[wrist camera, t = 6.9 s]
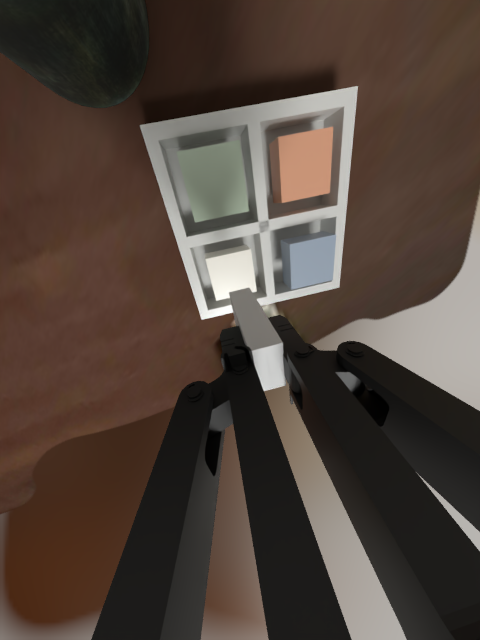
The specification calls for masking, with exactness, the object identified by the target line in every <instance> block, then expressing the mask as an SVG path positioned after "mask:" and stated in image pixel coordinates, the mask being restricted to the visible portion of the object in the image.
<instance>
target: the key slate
mask: <svg viewBox="0 0 480 640" xmlns="http://www.w3.org/2000/svg"><path fill="white" fill-rule="evenodd" d="M335 245H336V234H333V233H328V232H324V231H321V232H316V233H312V234H307V235H303V236H298V237H293V238H289V239H284V240H281V254H282V270H283V282H284V283H285V284H286V285H287V286H288V287H289V288H290V289H291V290H292V289H297V288H301V287H305V286H309V285H314V284H318V283H322V282H327V281H331V280H333V272H334V258H335Z"/></svg>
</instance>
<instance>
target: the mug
mask: <svg viewBox="0 0 480 640" xmlns="http://www.w3.org/2000/svg"><path fill="white" fill-rule="evenodd" d="M148 50H149V25H148V16H147V9H146V4H145V0H0V52H1V53H2V54H4V55H5V56H6V57H8V58H9V59H10V60H12V61H13V62H14V63H16V64H17V65H18V66H20V67H21V68H22V69H24V70H25V71H26V72H28V73H29V74H30V75H32V76H33V77H34V78H36V79H37V80H38V81H40V82H41V83H42V84H44V85H45V86H46V87H48V88H49V89H51V90H52V91H54V92H55V93H57V94H58V95H60V96H62V97H64V98H65V99H67V100H69V101H71V102H74V103H77V104H80V105H83V106H87V107H93V108H107V107H110V106H114V105H117V104H119V103H121V102H123V101H125V100H126V99H127V98H128V97H129V96H130V95H131V94H132V93H133V92H134V91H135V89H136V88H137V86H138V85H139V83H140V81H141V79H142V76H143V74H144V71H145V67H146V63H147V59H148Z"/></svg>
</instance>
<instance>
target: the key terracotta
mask: <svg viewBox="0 0 480 640" xmlns="http://www.w3.org/2000/svg"><path fill="white" fill-rule="evenodd" d="M332 143H333V127H328V128H323V129H317V130H312V131H307V132H302V133H296V134H291V135H286V136H280V137H278V138H276V139H275V140H274V141H273V142H272V143H270V144H269V149H270V162H271V176H272V190H273V203H285V202H290V201H294V200H299V199H304V198H309V197H314V196H318V195H323V194H328V193H330V181H331V162H332Z"/></svg>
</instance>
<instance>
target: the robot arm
mask: <svg viewBox="0 0 480 640" xmlns="http://www.w3.org/2000/svg"><path fill="white" fill-rule="evenodd" d="M229 296H230V300H231V305H232V309H233V314H234V318H235V323H236V327H232V328H227V329H223V330H222V332H221V334H220V339H221V345H222V351H223V352H222V354H221V361H222V365H223V368H224V372H223V373H222V375H221V376H220V377H219V378H217V379H216V380H214V381H213V382H211V383H209V384H208V383H206V382H204V381H197V382H193V383H191V384H189V385H187V386H186V387H185V388H184V389H183V390H182V391H181V393H180V395H179V397H178V400H177V403H176V406H175V409H174V412H173V414H172V417H171V420H170V422H169V425H168V428H167V431H166V434H165V436H164V439H163V442H162V445H161V448H160V451H159V453H158V456H157V459H156V461H155V464H154V467H153V470H152V473H151V475H150V478H149V481H148V484H147V487H146V490H145V492H144V495H143V497H142V500H141V503H140V506H139V509H138V511H137V514H136V517H135V520H134V523H133V525H132V528H131V531H130V534H129V536H128V540H127V542H126V545H125V548H124V550H123V553H122V556H121V559H120V561H119V564H118V567H117V570H116V573H115V575H114V578H113V581H112V584H111V586H110V590H109V592H108V595H107V598H106V600H105V603H104V606H103V609H102V611H101V614H100V617H99V620H98V623H97V626H96V628H95V631H94V634H93V637H92V639H91V640H200V639H201V630H202V622H203V613H204V605H205V596H206V588H207V579H208V570H209V562H210V553H211V545H212V536H213V527H214V520H215V519H214V518H215V511H216V502H217V494H218V485H219V477H220V468H221V460H222V450H223V443H224V434H225V428H227V427H228V426H230V425H231V424H234V430H235V437H236V443H237V449H238V455H239V461H240V468H241V474H242V480H243V486H244V492H245V497H246V504H247V510H248V516H249V522H250V528H251V534H252V541H253V547H254V552H255V559H256V565H257V571H258V577H259V583H260V589H261V595H262V601H263V608H264V613H265V619H266V626H267V632H268V638H269V640H351V637H350V634H349V632H348V629H347V626H346V623H345V620H344V617H343V615H342V612H341V609H340V606H339V603H338V600H337V597H336V595H335V592H334V589H333V586H332V583H331V580H330V577H329V575H328V572H327V569H326V566H325V564H324V560H323V558H322V555H321V552H320V549H319V546H318V543H317V541H316V538H315V535H314V532H313V530H312V526H311V524H310V521H309V518H308V515H307V512H306V510H305V507H304V504H303V501H302V498H301V495H300V493H299V490H298V487H297V484H296V481H295V479H294V475H293V473H292V470H291V467H290V464H289V461H288V458H287V456H286V453H285V450H284V447H283V444H282V442H281V439H280V436H279V433H278V430H277V428H276V424H275V422H274V419H273V416H272V413H271V410H270V408H269V405H268V402H267V399H266V396H265V393H264V391H266V390H270V389H274V388H277V387H281V386H285V385H286V380H287V382H288V383H289V391H290V401H291V404H293V401H294V403H295V405H296V407H297V409H298V411H299V413H300V415H301V417H302V420H303V422H304V424H305V426H306V428H307V430H308V432H309V434H310V436H311V438H312V441H313V443H314V445H315V447H316V449H317V451H318V453H319V455H320V457H321V459H322V462H323V464H324V466H325V468H326V470H327V472H328V474H329V476H330V478H331V480H332V482H333V485H334V487H335V489H336V491H337V493H338V495H339V497H340V499H341V501H342V503H343V506H344V508H345V510H346V511H347V514H348V516H349V518H350V520H351V522H352V524H353V526H354V529H355V531H356V533H357V535H358V537H359V539H360V541H361V543H362V545H363V547H364V549H365V552H366V554H367V556H368V557H369V560H370V562H371V564H372V566H373V568H374V570H375V572H376V575H377V577H378V579H379V581H380V583H381V585H382V587H383V589H384V591H385V593H386V596H387V598H388V600H389V602H390V604H391V606H392V608H393V610H394V612H395V614H396V616H397V618H398V621H399V623H400V625H401V627H402V629H403V631H404V634H405V636H406V639H407V640H480V551H479V550H478V549H477V548H476V546H475V545H474V544H473V543H472V541H471V540H470V539H469V538H468V536H467V535H466V534H465V533H464V532H463V530H462V529H461V528H460V526H459V525H458V524H457V523H456V521H455V520H454V519H453V518H452V517H451V515H450V514H449V513H448V512H447V510H446V509H445V508H444V507H443V505H442V504H441V503H440V502H439V500H438V499H437V498H436V497H435V495H434V494H433V493H432V492H431V490H430V489H429V488H428V487H427V485H426V484H425V483H424V482H423V480H422V479H421V478H420V477H419V475H420V476H421V477H422V478H423V479H424V480H425V481H426V482H427V483H428V484H429V485H430V486H432V487H433V488H434V489H435V490H436V491H437V492H438V493H439V494H440V495H441V496H442V497H443V498H444V499H445V500H447V501H448V502H449V503H450V504H451V505H452V506H453V507H454V508H455V509H456V510H457V511H458V512H459V513H460V514H461V515H462V516H464V517H465V518H466V519H467V520H468V521H469V522H470V523H471V524H472V525H473V526H474V527H475V528H476V529H477V530H478V531H480V411H479V410H477V409H475V408H473V407H472V406H470V405H468V404H466V403H465V402H463V401H461V400H460V399H458V398H456V397H455V396H453V395H451V394H449V393H448V392H446V391H444V390H442V389H441V388H439V387H437V386H436V385H434V384H432V383H431V382H429V381H427V380H425V379H424V378H422V377H420V376H418V375H417V374H415V373H413V372H412V371H410V370H408V369H406V368H405V367H403V366H401V365H400V364H398V363H396V362H394V361H392V360H391V359H389V358H388V357H386V356H384V355H382V354H381V353H379V352H377V351H376V350H374V349H372V348H370V347H369V346H367V345H365V344H363V343H360V342H355V341H347V342H343V343H341V344H340V345H339V346H338V348H337V351H320V350H317V349H316V348H315V347H314V346H313V345H311V344H308V343H305V342H304V341H303V339H302V338H301V337H300V335H299V334H298V333H297V332H296V330H295V329H294V328H293V326H292V325H291V324H290V322H289V321H288V320H287V318H285V317H283V316H281V315H278V316H274V317H270V318H268V317H267V316H266V314H265V312H264V311H263V309H262V307H261V306H260V304H259V302H258V301H257V299H256V297H255V296H254V294H253V292H252V291H251V289H250V288H245V289H241V290H237V291H232V292H229ZM416 472H417V473H418V474H419V475H418V474H417V473H416Z"/></svg>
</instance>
